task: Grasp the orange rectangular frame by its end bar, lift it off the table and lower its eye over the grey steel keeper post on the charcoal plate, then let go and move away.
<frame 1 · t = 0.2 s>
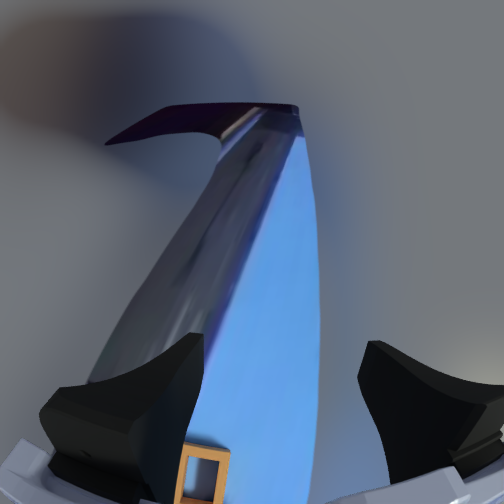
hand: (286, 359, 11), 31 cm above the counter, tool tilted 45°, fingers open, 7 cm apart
orange rectangular frame: (201, 477, 29), on the counter
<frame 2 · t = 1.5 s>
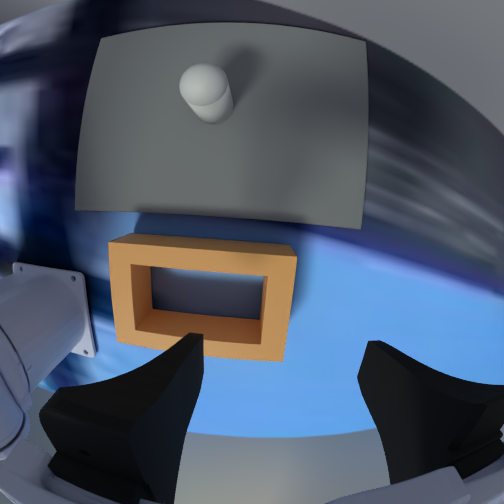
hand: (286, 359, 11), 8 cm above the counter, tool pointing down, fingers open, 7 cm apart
orange rectangular frame: (204, 286, 19), on the counter
keeper plate: (216, 111, 17), on the counter
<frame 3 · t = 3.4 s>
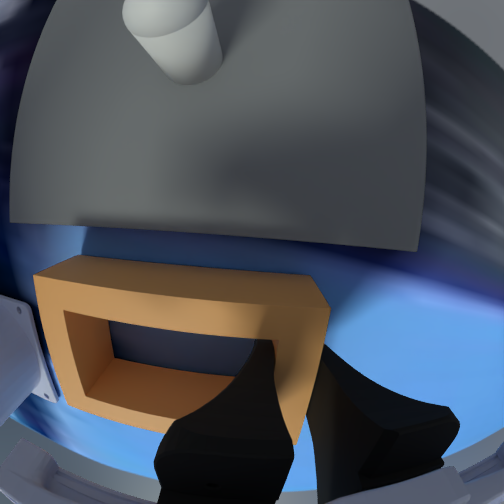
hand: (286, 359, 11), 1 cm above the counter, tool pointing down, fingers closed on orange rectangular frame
orange rectangular frame: (182, 334, 12), on the counter, touching gripper
keeper plate: (197, 69, 10), on the counter
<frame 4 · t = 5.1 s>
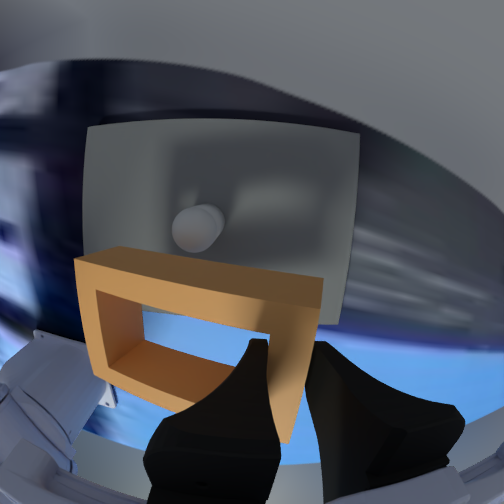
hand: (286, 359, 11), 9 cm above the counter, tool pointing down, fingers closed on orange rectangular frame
orange rectangular frame: (204, 324, 14), point 7 cm above the counter, tilted 15°, touching gripper
keeper plate: (209, 220, 19), on the counter
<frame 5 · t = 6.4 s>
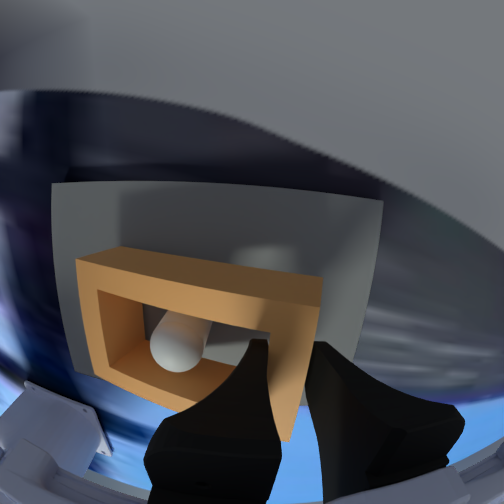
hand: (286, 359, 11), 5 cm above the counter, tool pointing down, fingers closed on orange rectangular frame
orange rectangular frame: (204, 323, 14), point 2 cm above the counter, tilted 15°, touching gripper, keeper plate
keeper plate: (197, 302, 16), on the counter
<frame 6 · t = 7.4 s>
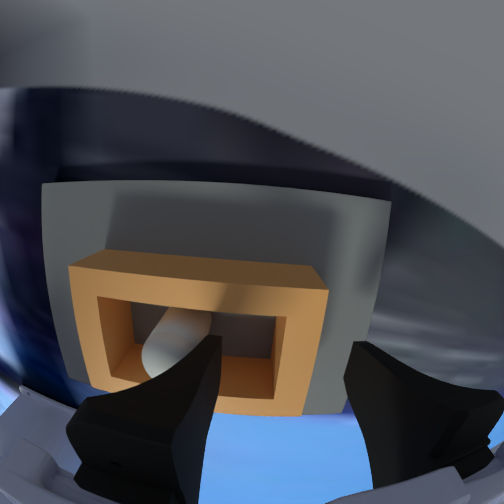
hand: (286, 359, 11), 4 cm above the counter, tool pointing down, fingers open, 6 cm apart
orange rectangular frame: (199, 319, 14), point 1 cm above the counter, touching keeper plate
keeper plate: (193, 309, 15), on the counter
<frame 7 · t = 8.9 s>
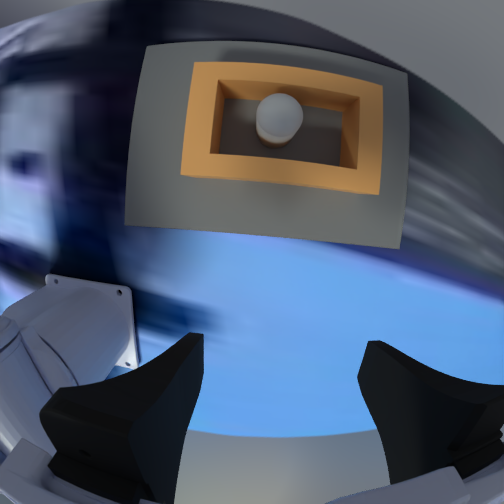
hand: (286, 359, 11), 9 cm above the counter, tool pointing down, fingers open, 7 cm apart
orange rectangular frame: (282, 133, 17), point 1 cm above the counter, touching keeper plate
keeper plate: (273, 134, 18), on the counter
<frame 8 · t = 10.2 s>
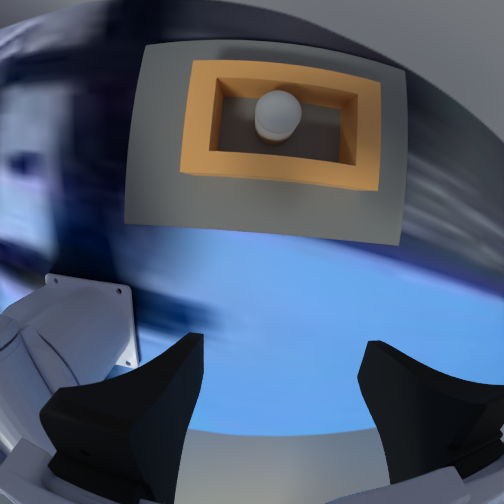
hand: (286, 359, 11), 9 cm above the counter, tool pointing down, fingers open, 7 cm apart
orange rectangular frame: (281, 130, 17), point 1 cm above the counter, touching keeper plate
keeper plate: (272, 131, 18), on the counter
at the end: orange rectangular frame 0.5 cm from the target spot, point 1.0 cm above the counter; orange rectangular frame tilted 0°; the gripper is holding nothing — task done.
